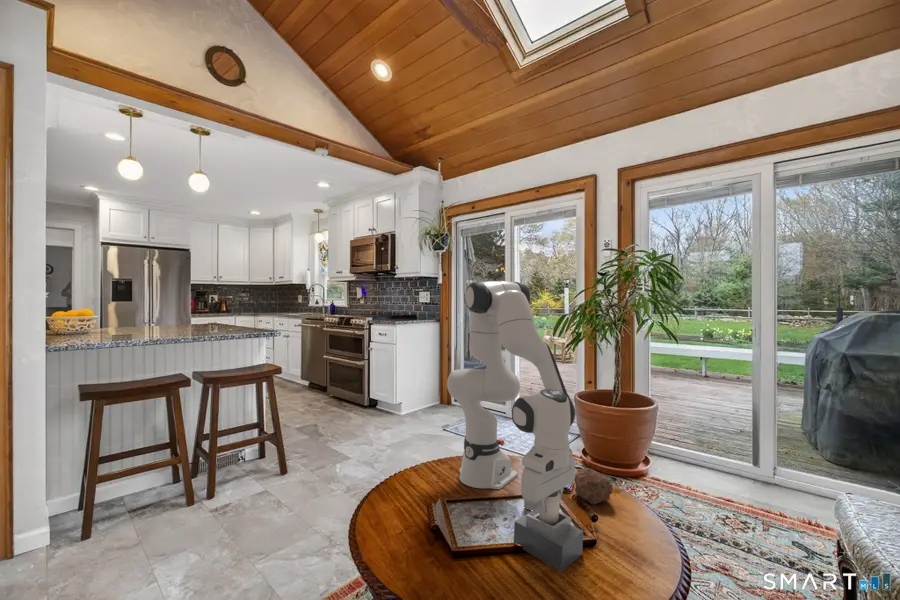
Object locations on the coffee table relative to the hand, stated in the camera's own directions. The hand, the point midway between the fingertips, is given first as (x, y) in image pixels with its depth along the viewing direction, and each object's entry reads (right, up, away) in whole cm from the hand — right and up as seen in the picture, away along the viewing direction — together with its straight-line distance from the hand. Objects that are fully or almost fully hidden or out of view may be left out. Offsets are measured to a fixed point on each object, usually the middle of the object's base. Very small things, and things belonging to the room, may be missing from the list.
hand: (549, 508), depth 102 cm
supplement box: (+2, -11, +20) cm, 23 cm away
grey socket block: (+1, -11, +1) cm, 11 cm away
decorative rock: (+21, -12, +27) cm, 36 cm away
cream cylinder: (0, -3, 0) cm, 3 cm away
